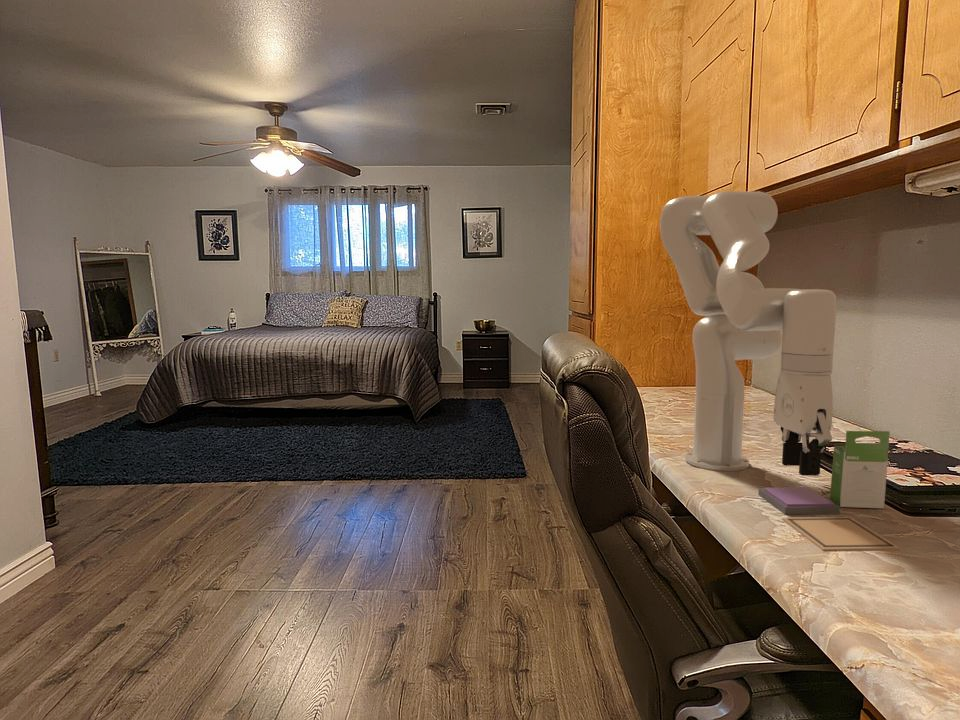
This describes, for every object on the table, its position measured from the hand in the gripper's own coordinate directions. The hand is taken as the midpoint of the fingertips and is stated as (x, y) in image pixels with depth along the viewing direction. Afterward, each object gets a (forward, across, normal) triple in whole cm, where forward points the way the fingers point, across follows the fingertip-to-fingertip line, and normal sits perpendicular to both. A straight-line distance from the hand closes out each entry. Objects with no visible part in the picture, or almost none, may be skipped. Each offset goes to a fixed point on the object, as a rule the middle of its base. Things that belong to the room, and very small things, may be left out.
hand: (800, 468), depth 98 cm
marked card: (+6, +12, 0) cm, 13 cm away
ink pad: (+6, 0, 0) cm, 6 cm away
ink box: (+7, 0, +10) cm, 12 cm away
